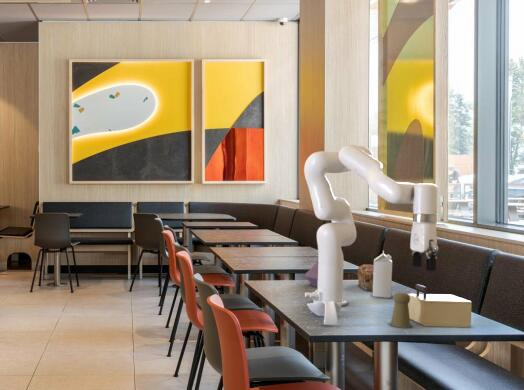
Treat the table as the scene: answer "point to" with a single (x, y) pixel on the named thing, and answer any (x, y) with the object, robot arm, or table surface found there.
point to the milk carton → (382, 276)
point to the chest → (440, 314)
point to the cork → (401, 310)
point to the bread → (366, 276)
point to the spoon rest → (326, 311)
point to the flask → (313, 275)
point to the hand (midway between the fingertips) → (423, 268)
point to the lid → (436, 297)
